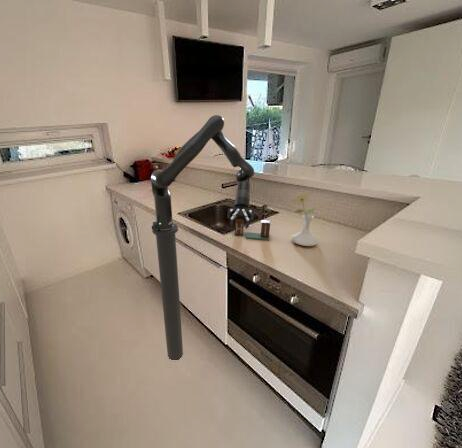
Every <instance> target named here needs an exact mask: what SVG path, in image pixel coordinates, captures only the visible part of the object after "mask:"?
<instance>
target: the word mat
mask: <svg viewBox="0 0 462 448" xmlns="http://www.w3.org/2000/svg"><path fill="white" fill-rule="evenodd" d="M245 239H247V240H248V239H249V240H258V241H259V240H260V241H269V239H270V237H269V238H264V237H261V232H259V233H258V232H246V235H245Z"/></svg>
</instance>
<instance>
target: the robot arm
mask: <svg viewBox="0 0 462 448" xmlns="http://www.w3.org/2000/svg"><path fill="white" fill-rule="evenodd" d="M224 127H225V119H224V117H222V116H221V115H220V114H215V115H211V116H210V117H209V118H208V119H207V121H206V122H205V124H203V126H201V128H200V129H199V130H198V131H197V132H196V133H195V134H194V135H193V136H191V137H189V139H188V140H187V141H186V142H185V143H184V144H183V145H182V146H181V147H180V148H179V149H178V150H177V152H176V153H175V155H174V157H173V159H172V161H171V162H170V163H169V164H168V165H167V166H166V167H165V168H164V169H160V168H159V169H155V170H154V171H153V172H151V176H150V183H151V192H152V196H153V201H154V208H155V209H154V216H155V221H152V225H151V230H152V229H154V230H155V229H158V231H167V230H171V229H172V228H173V224H174V223H173V208H172V207H173V206H172V194H171V192H170V190H169V187H170V186H171V185H172V183H173V182H174V181H175V180H176V179H177V177H178V176H179V175H180V174H181V173H182V171H184V170H185V168H187V167H188V165H189V164H191V163H192V162H193V161H194V160H195V159H196V158H197V157H198V156H199V155H200V153H201V152H202V151H203V149H204V148H205V147H206V145H207V144H208V142H209V141H210V140H211V139H212V141H213V142H214V143H215V144H216V145H217V147H219V149H220V150H221V152H222V153H223V154H224V156H225V157H226V159H227V160H228V162H229V163H230V165H231V166H232V168H240V169H238V171H237V172H236V175H235V180H236V193H235V197H234V198H235V199H234V204H233V205H234V206H233V208H230V207H228V208H227V220H228V221H229V226H230V228H232V229H233V227H234V220H236V219H237V218H244V220H245V229H246V230H247V229H249V227H250V222H254V216H255V209H253V208H252V209H250V200H251V199H250V198H251V194H250V192H251V183H250V182H249V181H248V180H249V179H252V178H253V177H254V176H255V168H254V167H253V166H252V165H251V164H250V163H249V162H248V161H247V160H246V159H244V158H243V156H242V155H241V152H239V150H238V149H237V148H236V147H235V145H234V144H232V143H231V142H230V141H229V140H228V139H227V138H226V137H225V135H224V132H223V129H224ZM232 213H233V214H232ZM231 214H232V216H231ZM248 214H250V218H249V216H248Z"/></svg>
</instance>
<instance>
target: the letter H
mask: <svg viewBox="0 0 462 448" xmlns="http://www.w3.org/2000/svg"><path fill="white" fill-rule="evenodd" d="M234 222H235V223H234V236H240V237H243V235H244V227H245V218H235V221H234Z"/></svg>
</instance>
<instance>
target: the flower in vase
mask: <svg viewBox="0 0 462 448" xmlns="http://www.w3.org/2000/svg"><path fill="white" fill-rule="evenodd" d="M310 199H311V194H310V193H308V192H307V191H304V192H302V191H301V192H300V193H297V195H295V196H294V197H293V199H292V204H294V205H297V206H300V205H302V209H301V208H299V209H297V210H295V211H294V212H293V213H295V214H302V213H303V212H304V213H303V214H302V215H301V216H302V218H303V228H302V230H301V231H299V232H297V233H294V234H293V235H292V236H291V241H292V242H293V243H294V244H297V245H299V246H302V247H313V246H315V245H318V243H319V240H318V238H317V237H316V236H315V235H314V234H313V233H312V232H311V231H310V225H311V222H312V220H313V219H314V218H315V215H313V214H312V213H313V212H314V211H315V207H312V208H309V209H306V210H305V203H307V202H308V201H309V200H310Z"/></svg>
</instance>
